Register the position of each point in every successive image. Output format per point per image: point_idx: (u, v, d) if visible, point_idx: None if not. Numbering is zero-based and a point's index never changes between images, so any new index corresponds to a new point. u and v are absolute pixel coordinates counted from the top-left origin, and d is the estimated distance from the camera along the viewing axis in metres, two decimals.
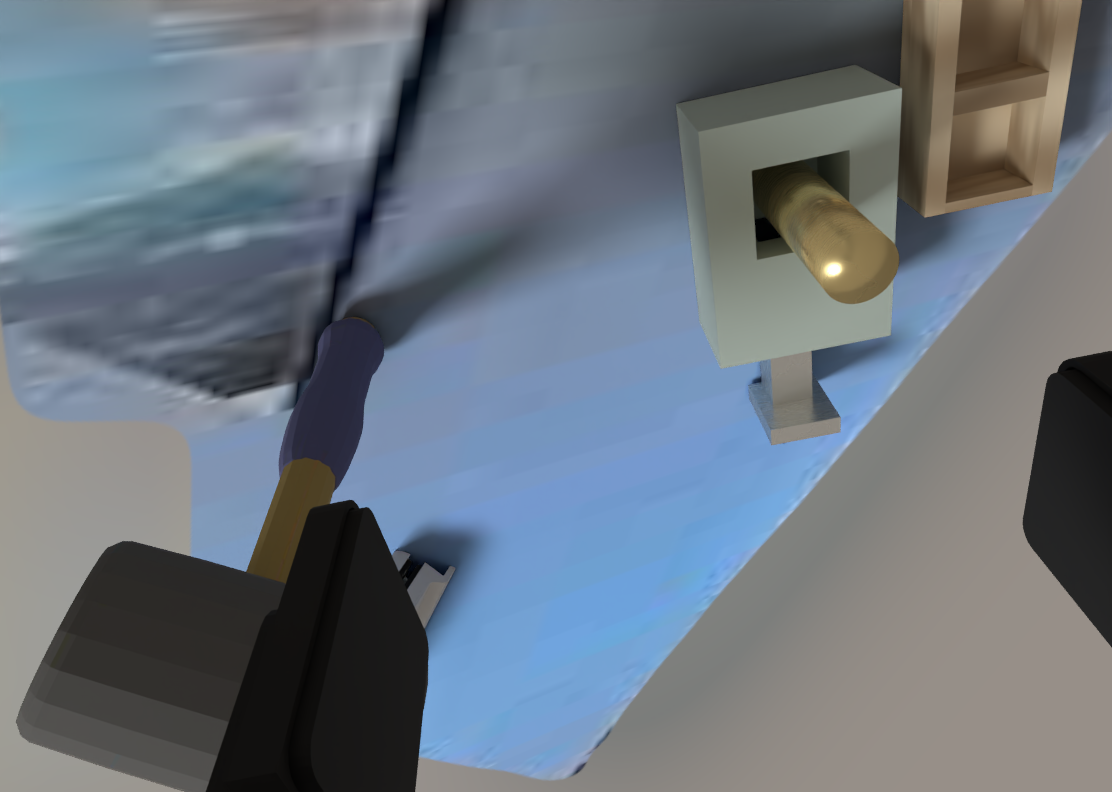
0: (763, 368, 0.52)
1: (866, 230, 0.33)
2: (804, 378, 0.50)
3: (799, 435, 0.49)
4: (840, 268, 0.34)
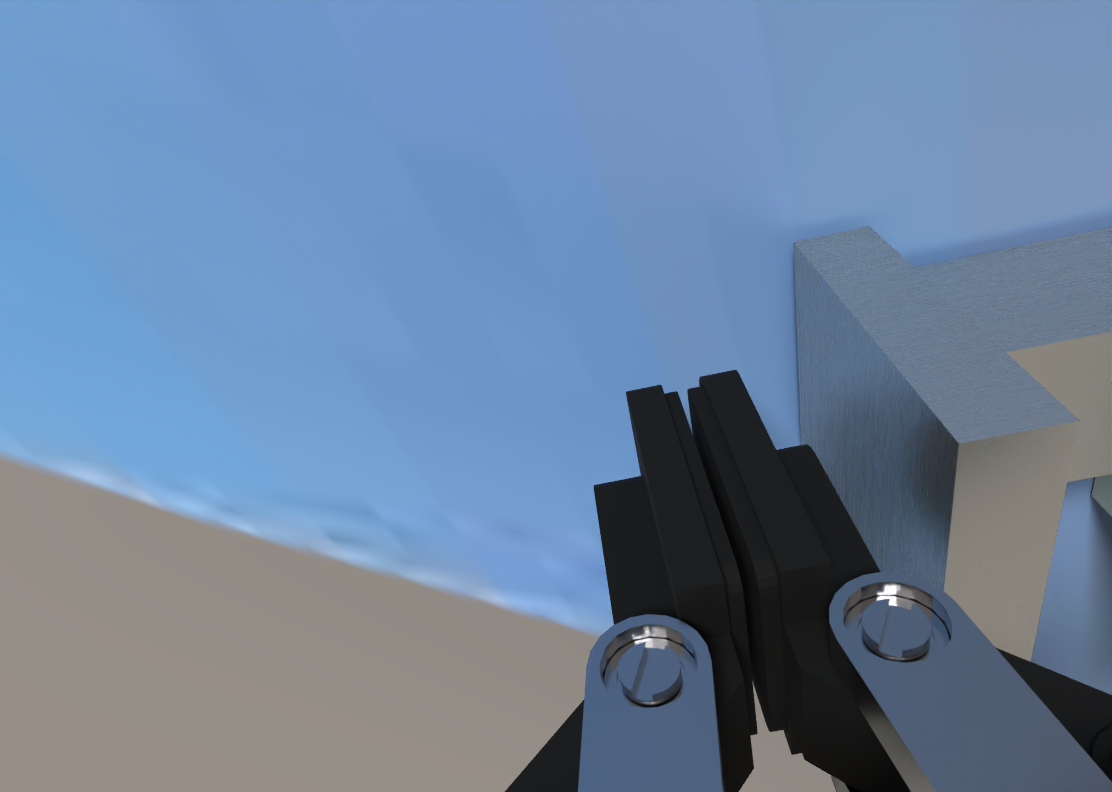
0: (997, 277, 0.12)
1: None
2: None
3: (977, 561, 0.09)
4: None
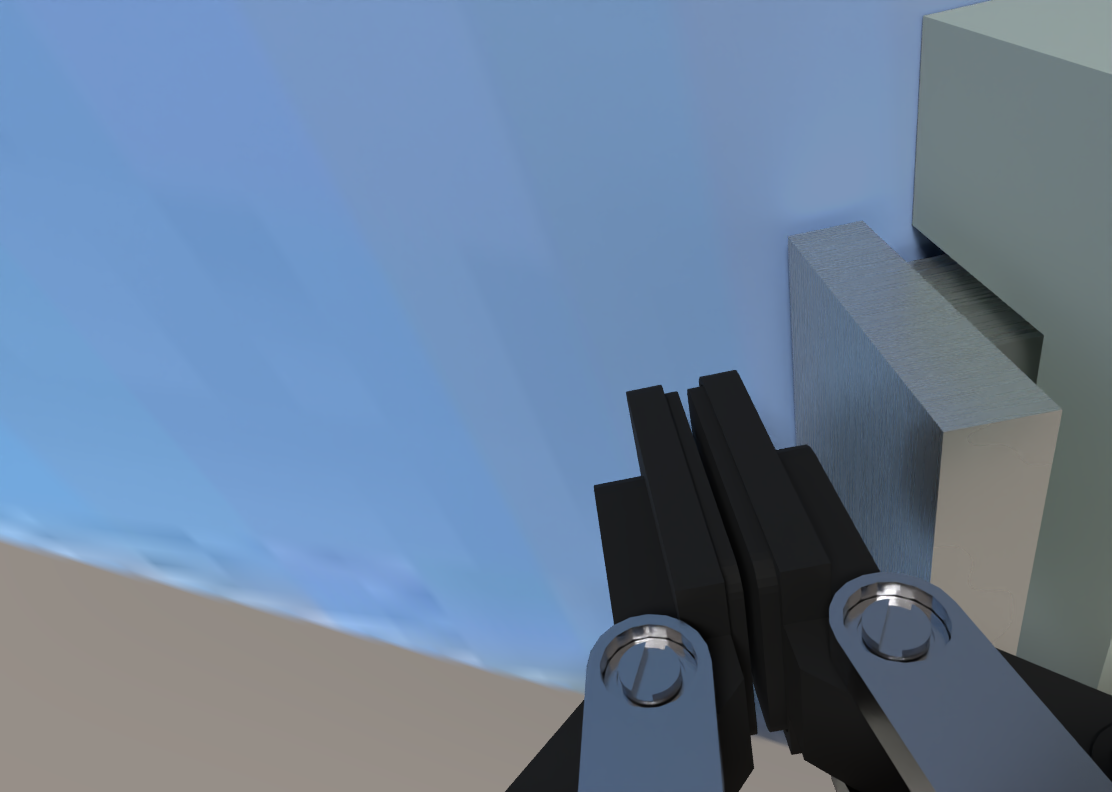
0: None
1: None
2: None
3: (963, 548, 0.09)
4: None
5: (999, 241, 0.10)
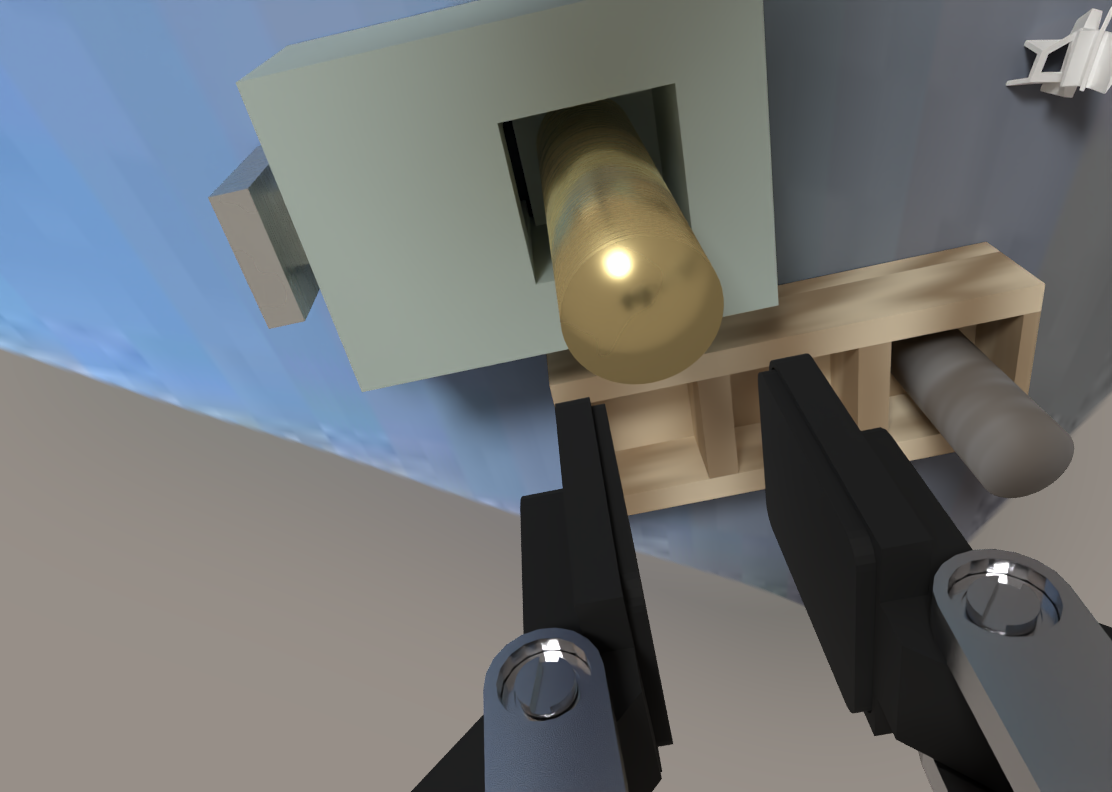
0: None
1: (720, 307, 0.16)
2: None
3: (245, 251, 0.23)
4: (646, 274, 0.16)
5: None
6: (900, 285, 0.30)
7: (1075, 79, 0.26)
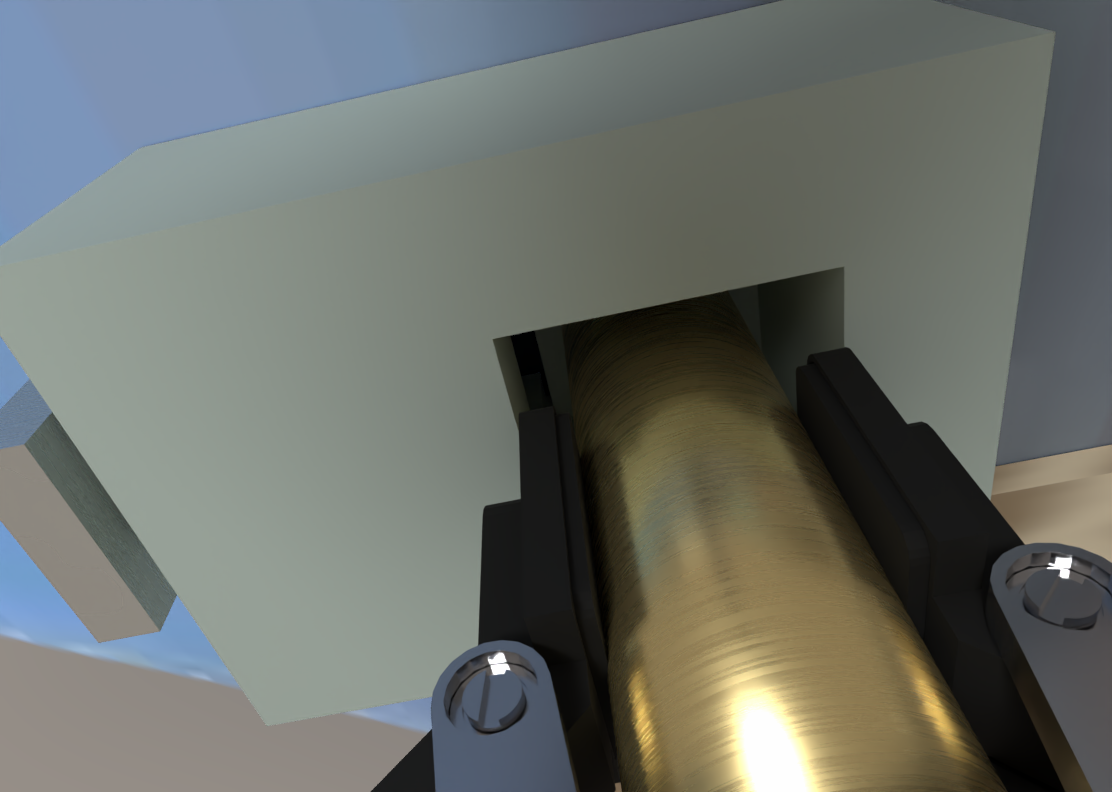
0: None
1: None
2: None
3: (38, 538, 0.13)
4: None
5: None
6: None
7: None
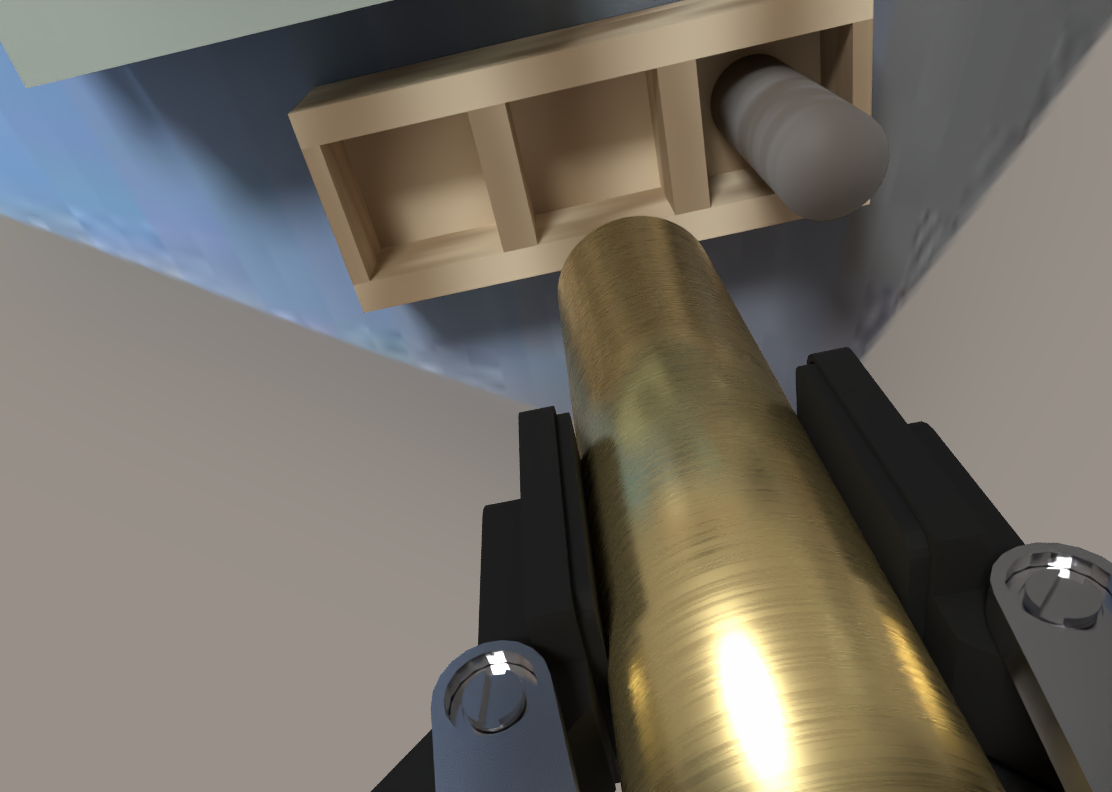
0: None
1: None
2: None
3: None
4: None
5: None
6: (714, 3, 0.25)
7: None
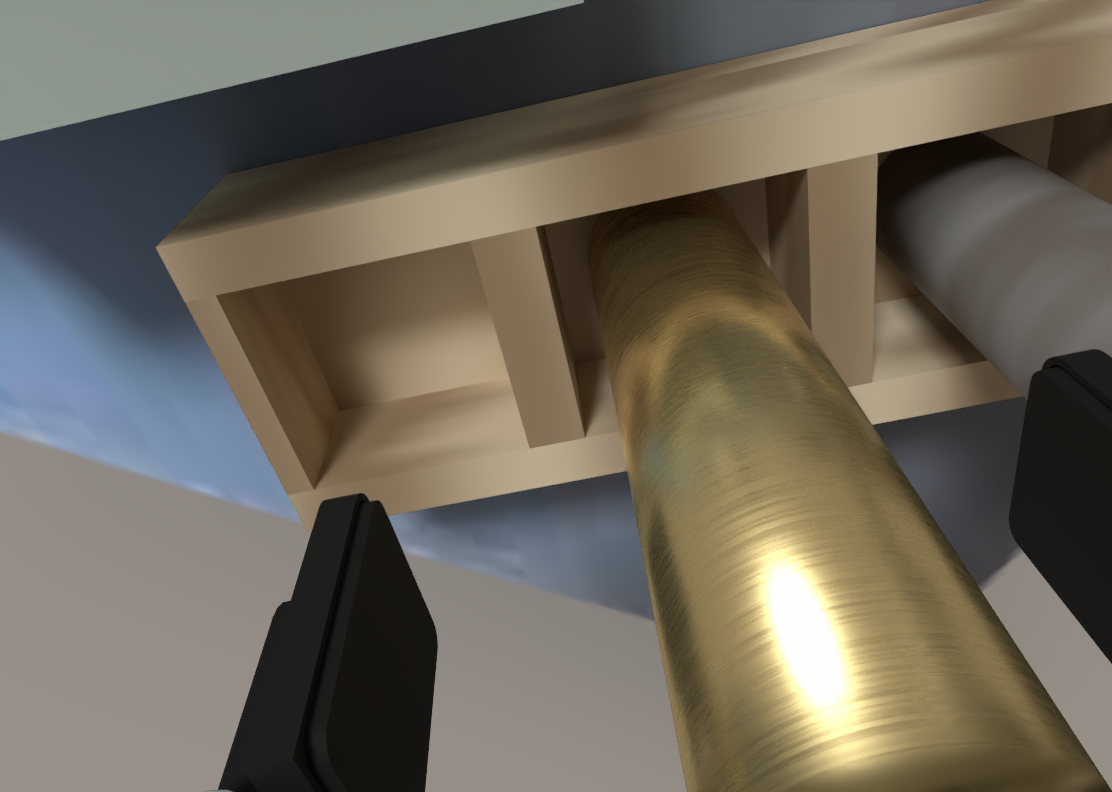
0: None
1: None
2: None
3: None
4: None
5: None
6: (900, 48, 0.14)
7: None
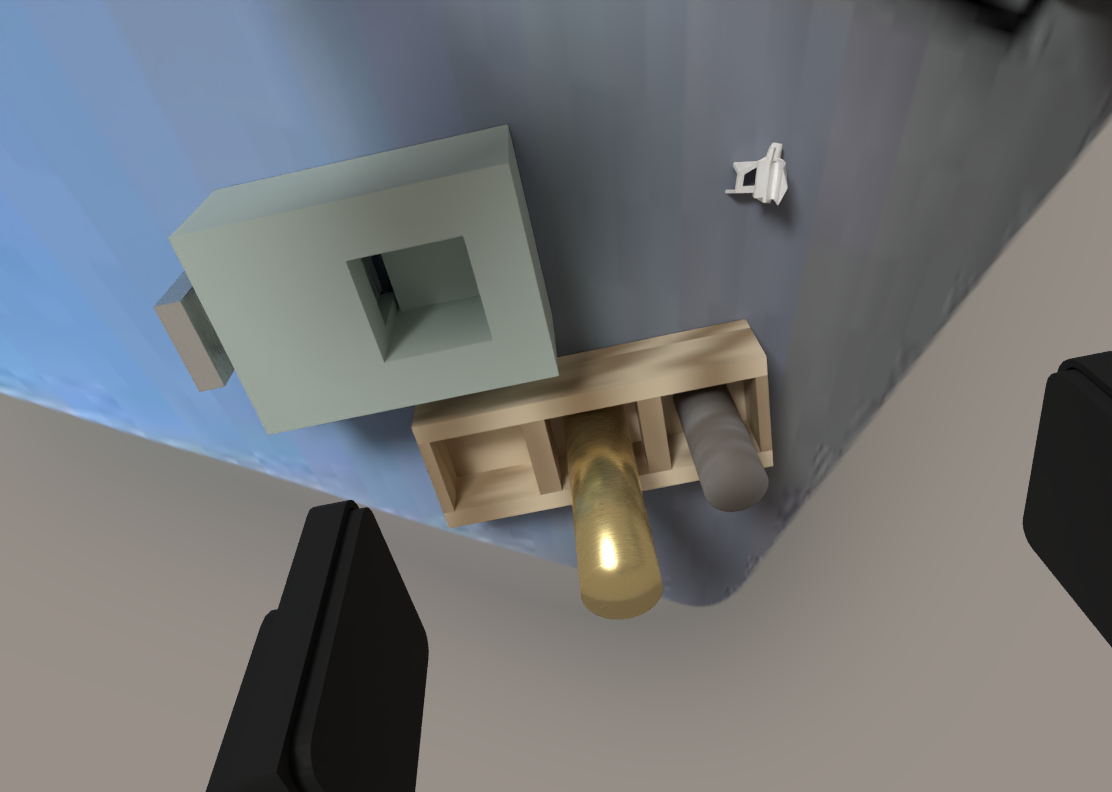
0: None
1: (661, 586, 0.32)
2: None
3: (180, 341, 0.34)
4: (623, 575, 0.32)
5: None
6: (673, 353, 0.40)
7: (763, 193, 0.36)
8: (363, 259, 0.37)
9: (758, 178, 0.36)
